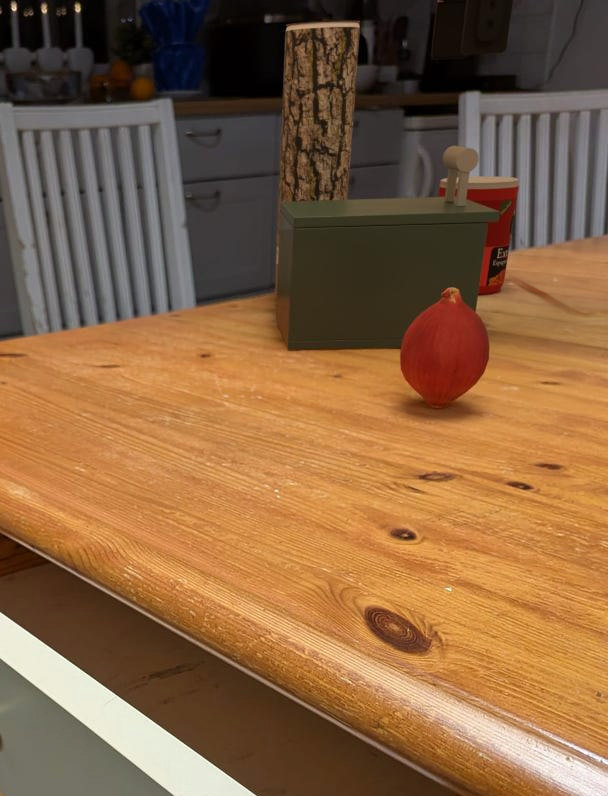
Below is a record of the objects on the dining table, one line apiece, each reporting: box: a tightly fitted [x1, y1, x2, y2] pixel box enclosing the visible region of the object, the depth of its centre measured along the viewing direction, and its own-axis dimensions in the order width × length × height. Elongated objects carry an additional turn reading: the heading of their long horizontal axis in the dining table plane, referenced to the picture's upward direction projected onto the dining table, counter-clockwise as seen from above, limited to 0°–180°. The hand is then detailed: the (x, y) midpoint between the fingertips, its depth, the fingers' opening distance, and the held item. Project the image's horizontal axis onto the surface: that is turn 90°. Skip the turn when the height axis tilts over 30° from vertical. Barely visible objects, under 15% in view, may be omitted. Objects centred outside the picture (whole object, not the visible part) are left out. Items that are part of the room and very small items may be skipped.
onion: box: [399, 288, 490, 409], centre depth 65 cm, size 6×6×8 cm
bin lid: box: [280, 145, 500, 228], centre depth 82 cm, size 16×14×5 cm
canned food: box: [437, 175, 520, 296], centre depth 103 cm, size 8×8×11 cm
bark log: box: [274, 19, 361, 303], centre depth 95 cm, size 7×7×25 cm
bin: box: [275, 212, 488, 351], centre depth 86 cm, size 16×14×10 cm
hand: (465, 56), depth 76 cm, fingers open, 9 cm apart
